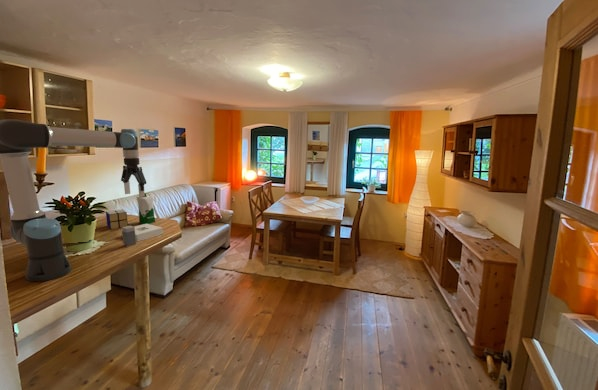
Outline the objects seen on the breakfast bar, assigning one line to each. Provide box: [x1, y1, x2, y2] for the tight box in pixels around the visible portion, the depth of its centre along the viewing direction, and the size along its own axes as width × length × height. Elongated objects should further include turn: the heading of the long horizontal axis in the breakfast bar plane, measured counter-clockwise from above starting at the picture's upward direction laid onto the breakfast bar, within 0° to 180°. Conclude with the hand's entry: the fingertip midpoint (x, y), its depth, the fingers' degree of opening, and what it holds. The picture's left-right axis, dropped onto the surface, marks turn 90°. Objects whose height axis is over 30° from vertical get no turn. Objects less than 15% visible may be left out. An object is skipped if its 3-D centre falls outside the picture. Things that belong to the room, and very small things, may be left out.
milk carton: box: [136, 192, 156, 225], centre depth 205 cm, size 9×9×20 cm
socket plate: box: [120, 223, 164, 243], centre depth 180 cm, size 16×16×5 cm
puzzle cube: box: [105, 208, 129, 230], centre depth 196 cm, size 10×10×10 cm
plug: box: [121, 225, 137, 247], centre depth 164 cm, size 4×4×10 cm
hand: (134, 195), depth 171 cm, fingers open, 13 cm apart
